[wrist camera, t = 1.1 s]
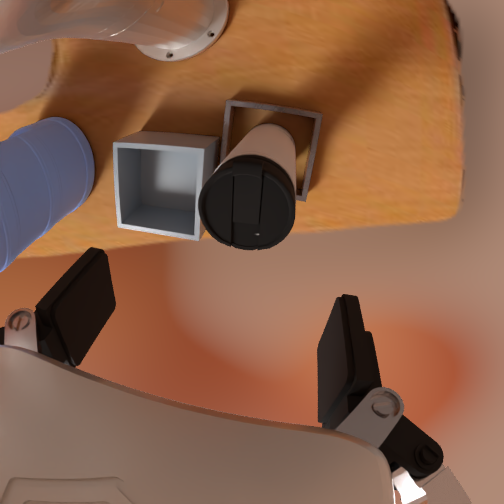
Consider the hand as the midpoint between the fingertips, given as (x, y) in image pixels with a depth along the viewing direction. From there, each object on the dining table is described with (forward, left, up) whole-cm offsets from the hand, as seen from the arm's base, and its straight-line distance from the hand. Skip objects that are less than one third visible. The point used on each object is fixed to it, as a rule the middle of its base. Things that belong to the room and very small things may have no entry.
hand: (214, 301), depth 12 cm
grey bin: (+5, -12, -28) cm, 31 cm away
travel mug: (0, 0, -28) cm, 28 cm away
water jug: (+5, -32, -28) cm, 43 cm away
